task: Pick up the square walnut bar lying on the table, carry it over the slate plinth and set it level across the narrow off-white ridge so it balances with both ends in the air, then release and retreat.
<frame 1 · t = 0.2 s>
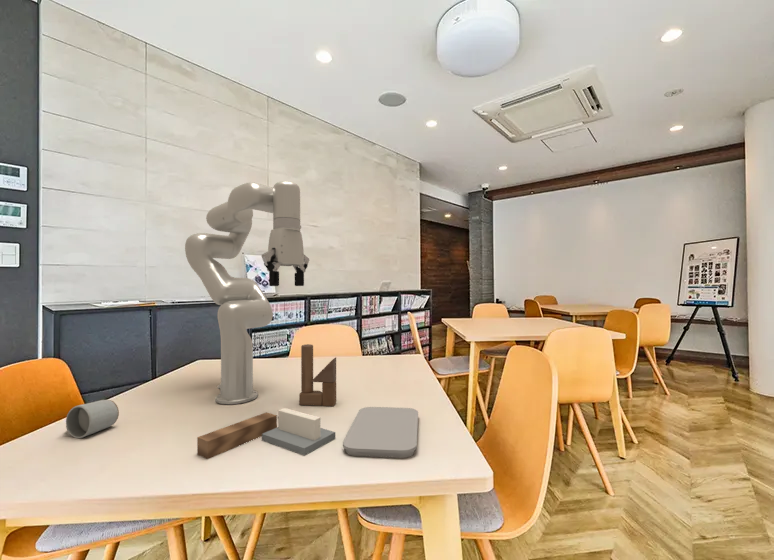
hand: (287, 286, 103), 36 cm above the table, tool pointing down, fingers open, 9 cm apart
wooden block: (318, 404, 110), on the table
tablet: (384, 435, 88), on the table
walnut bar: (240, 442, 84), on the table
grey hollow cylinder: (88, 432, 90), on the table
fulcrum: (298, 439, 85), on the table
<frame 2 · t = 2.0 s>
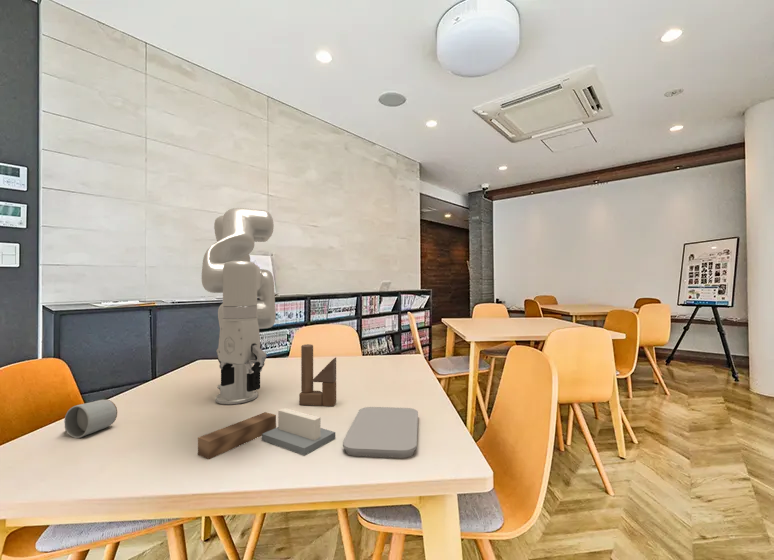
hand: (240, 387, 84), 13 cm above the table, tool pointing down, fingers open, 9 cm apart
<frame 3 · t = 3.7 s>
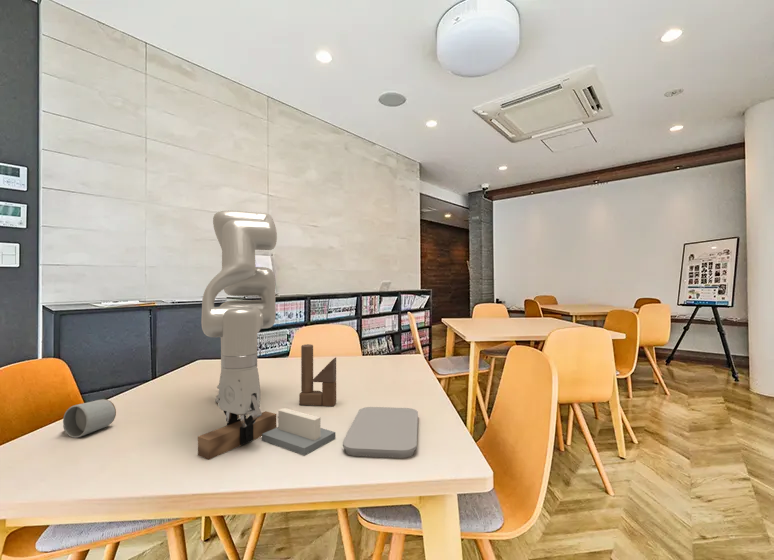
hand: (240, 439, 84), 0 cm above the table, tool pointing down, fingers closed on walnut bar, 4 cm apart
walnut bar: (240, 441, 84), on the table, touching gripper
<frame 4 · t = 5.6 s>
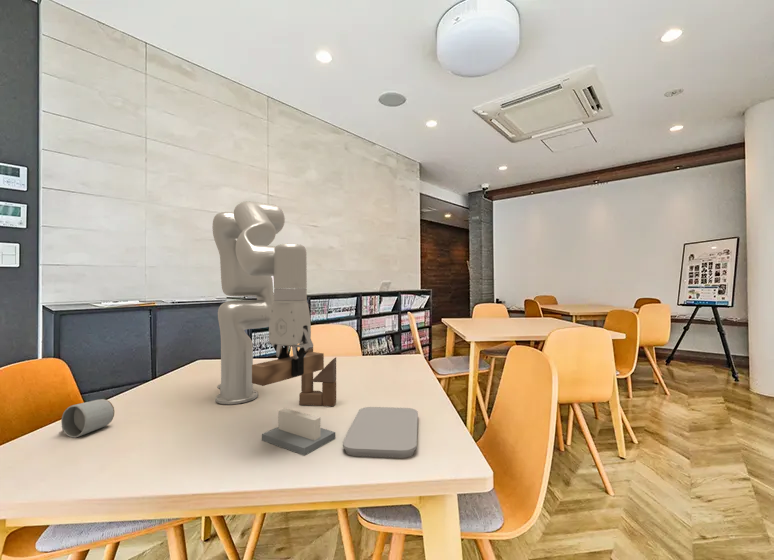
hand: (290, 373, 85), 16 cm above the table, tool pointing down, fingers closed on walnut bar, 4 cm apart
walnut bar: (290, 375, 84), point 15 cm above the table, touching gripper
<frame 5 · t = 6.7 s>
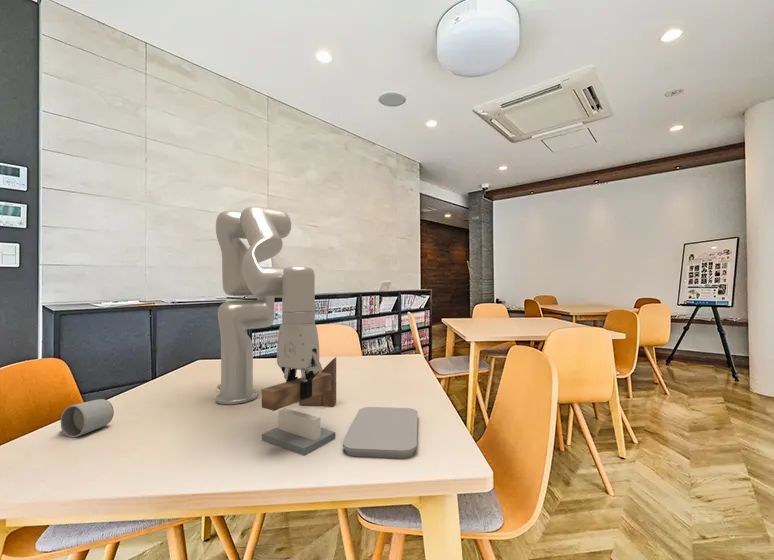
hand: (299, 395, 85), 10 cm above the table, tool pointing down, fingers closed on walnut bar, 4 cm apart
walnut bar: (299, 398, 85), point 10 cm above the table, touching gripper
when the fingers open (7 cm above the table, at t = 7.5 s): walnut bar stays where it is, resting on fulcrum.
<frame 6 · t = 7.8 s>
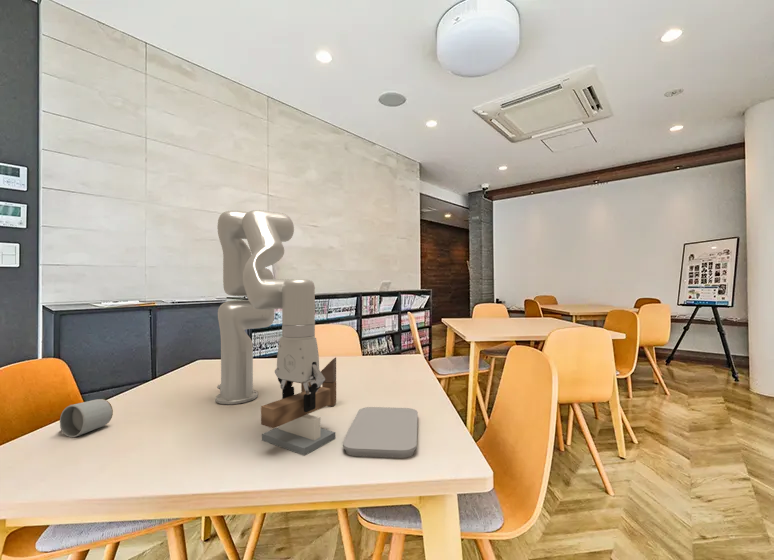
hand: (298, 406, 85), 8 cm above the table, tool pointing down, fingers open, 6 cm apart
walnut bar: (298, 413, 85), point 6 cm above the table, touching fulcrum
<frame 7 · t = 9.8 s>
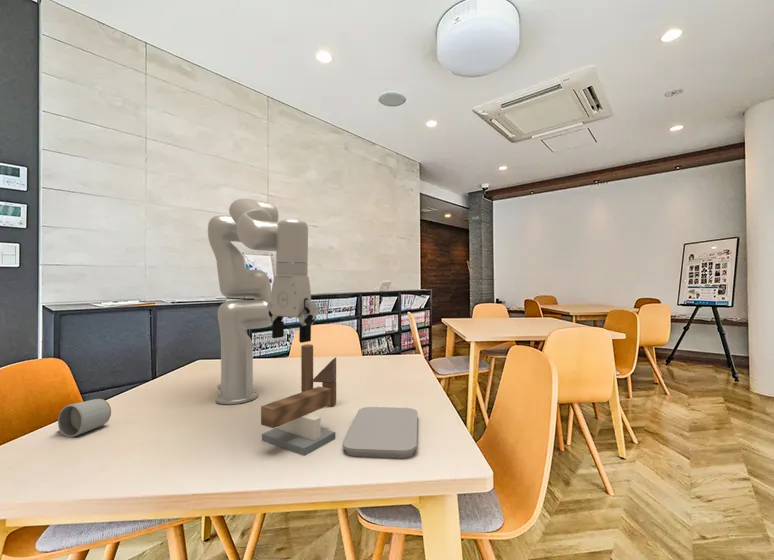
hand: (291, 339, 89), 23 cm above the table, tool pointing down, fingers open, 9 cm apart
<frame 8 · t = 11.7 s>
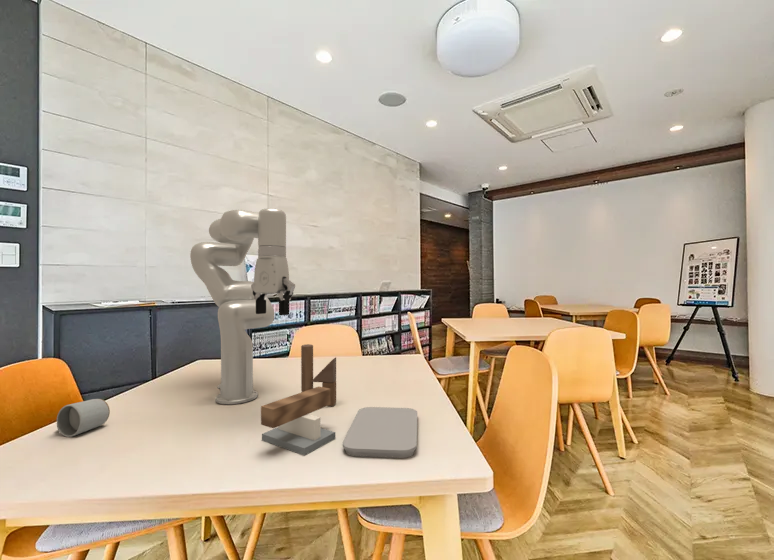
hand: (272, 314, 101), 28 cm above the table, tool pointing down, fingers open, 9 cm apart
at the end: walnut bar inside the target area on the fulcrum (0.1 cm from its centre), point 6.0 cm above the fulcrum's base; walnut bar tilted 0°; walnut bar touching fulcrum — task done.
